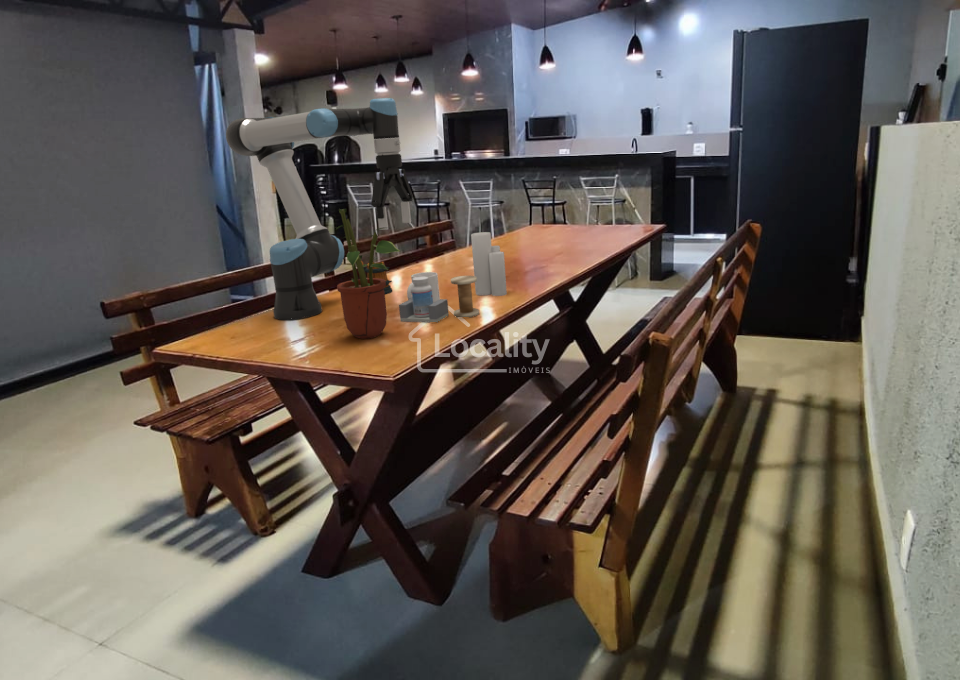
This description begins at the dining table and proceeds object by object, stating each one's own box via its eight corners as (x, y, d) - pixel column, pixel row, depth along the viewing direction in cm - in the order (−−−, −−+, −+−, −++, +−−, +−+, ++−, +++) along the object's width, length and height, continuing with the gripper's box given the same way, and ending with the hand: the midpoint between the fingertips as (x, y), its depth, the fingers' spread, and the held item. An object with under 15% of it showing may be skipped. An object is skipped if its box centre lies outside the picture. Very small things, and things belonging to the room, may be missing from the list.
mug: (418, 313, 206) (414, 280, 203) (400, 310, 211) (396, 278, 208) (445, 304, 214) (442, 273, 211) (427, 302, 220) (424, 271, 217)
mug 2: (398, 290, 241) (395, 258, 238) (381, 296, 233) (377, 264, 230) (370, 288, 248) (366, 257, 244) (352, 295, 239) (348, 263, 236)
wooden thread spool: (449, 317, 199) (446, 280, 195) (460, 310, 205) (457, 275, 202) (473, 318, 196) (470, 281, 192) (483, 311, 202) (480, 275, 199)
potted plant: (346, 345, 179) (328, 212, 168) (341, 331, 193) (323, 208, 183) (411, 335, 183) (396, 205, 173) (401, 322, 197) (387, 201, 187)
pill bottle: (438, 314, 199) (434, 277, 195) (420, 319, 195) (416, 281, 192) (428, 311, 203) (424, 275, 200) (410, 315, 200) (406, 278, 197)
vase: (472, 295, 224) (467, 235, 219) (481, 290, 231) (476, 232, 225) (503, 296, 220) (499, 235, 214) (511, 291, 226) (507, 231, 220)
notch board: (400, 321, 199) (398, 304, 197) (413, 314, 206) (412, 298, 204) (436, 322, 194) (434, 306, 192) (448, 315, 201) (447, 299, 199)
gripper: (376, 155, 186) (384, 232, 192) (419, 151, 207) (426, 220, 213) (353, 157, 189) (362, 232, 195) (398, 152, 210) (405, 220, 217)
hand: (395, 226), depth 204 cm, fingers open, 13 cm apart
